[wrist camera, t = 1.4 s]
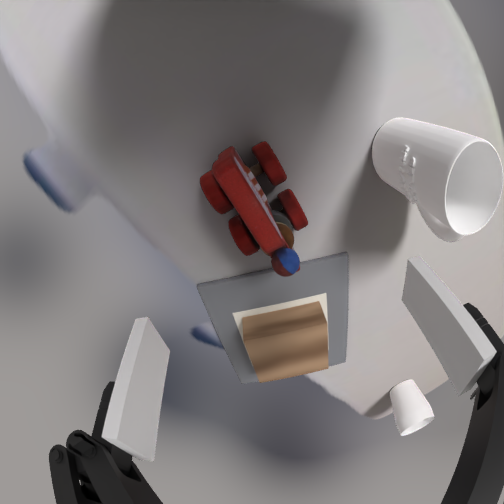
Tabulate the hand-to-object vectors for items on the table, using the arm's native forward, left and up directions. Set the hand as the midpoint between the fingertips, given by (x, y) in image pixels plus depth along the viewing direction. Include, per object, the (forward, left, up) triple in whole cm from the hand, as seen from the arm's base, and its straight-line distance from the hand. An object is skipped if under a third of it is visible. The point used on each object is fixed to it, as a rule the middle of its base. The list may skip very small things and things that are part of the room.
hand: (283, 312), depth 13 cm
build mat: (+20, 0, -16) cm, 26 cm away
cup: (+52, +25, -17) cm, 60 cm away
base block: (+20, 0, -16) cm, 25 cm away
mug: (0, +17, -17) cm, 24 cm away
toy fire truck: (0, 0, -17) cm, 17 cm away
